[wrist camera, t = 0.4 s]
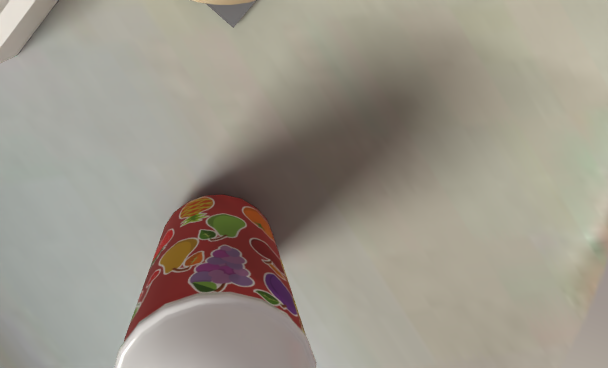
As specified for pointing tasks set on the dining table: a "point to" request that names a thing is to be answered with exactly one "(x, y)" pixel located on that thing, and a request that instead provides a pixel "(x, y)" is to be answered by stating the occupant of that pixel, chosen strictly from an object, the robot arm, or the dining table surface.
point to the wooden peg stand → (223, 2)
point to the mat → (231, 11)
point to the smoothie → (216, 295)
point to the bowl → (20, 23)
